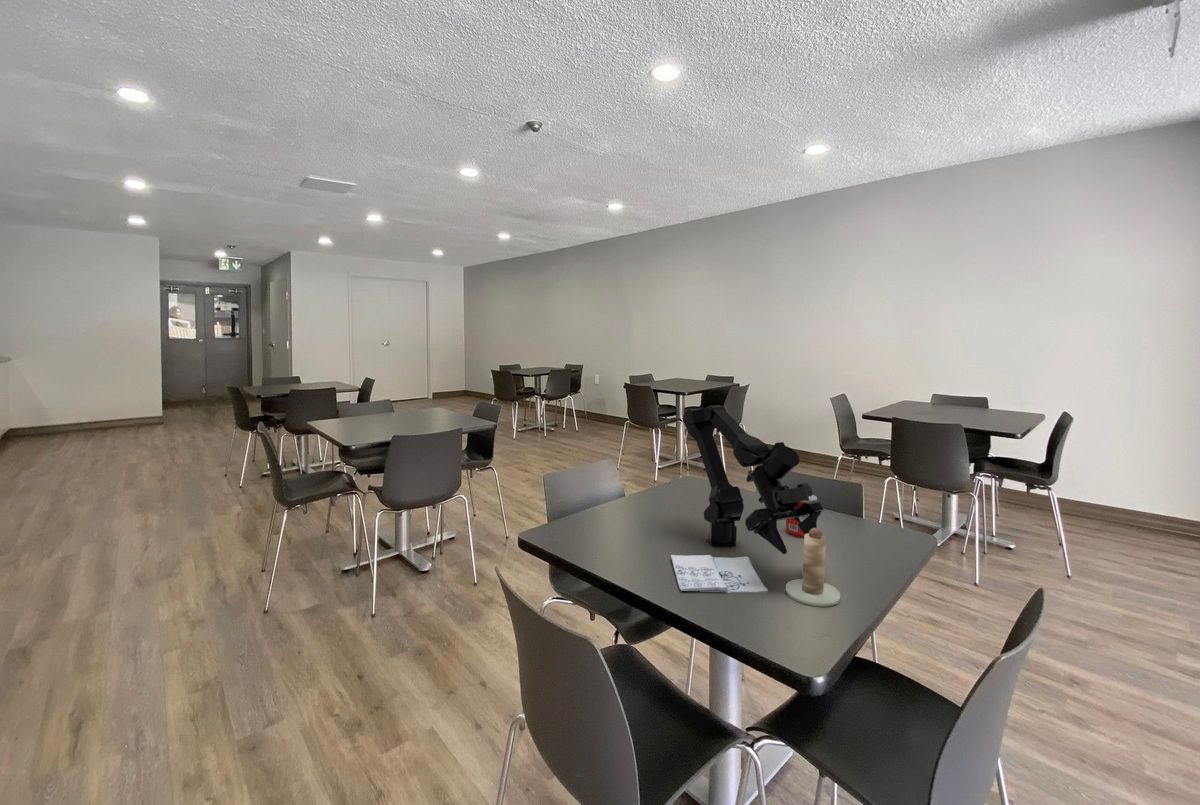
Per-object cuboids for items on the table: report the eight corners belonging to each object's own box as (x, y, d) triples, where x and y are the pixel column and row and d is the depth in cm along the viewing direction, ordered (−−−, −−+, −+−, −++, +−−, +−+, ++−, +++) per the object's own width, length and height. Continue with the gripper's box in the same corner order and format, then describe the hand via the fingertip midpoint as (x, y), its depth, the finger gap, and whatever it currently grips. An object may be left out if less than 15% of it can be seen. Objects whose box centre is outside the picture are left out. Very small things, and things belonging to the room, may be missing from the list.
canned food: (817, 539, 150) (819, 500, 149) (787, 537, 152) (789, 499, 151) (812, 529, 158) (814, 493, 157) (784, 527, 159) (785, 491, 158)
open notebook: (670, 560, 137) (670, 552, 137) (750, 561, 136) (750, 553, 136) (678, 595, 118) (678, 586, 118) (771, 597, 117) (772, 587, 117)
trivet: (795, 606, 112) (795, 601, 112) (779, 582, 123) (779, 578, 123) (848, 607, 112) (849, 602, 112) (828, 583, 123) (828, 579, 123)
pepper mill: (800, 592, 116) (803, 529, 115) (802, 584, 120) (805, 523, 119) (822, 596, 114) (826, 532, 113) (824, 587, 118) (827, 526, 117)
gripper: (755, 475, 119) (788, 540, 110) (820, 467, 126) (855, 528, 118) (732, 499, 127) (761, 562, 119) (794, 491, 134) (825, 549, 126)
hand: (801, 550), depth 120 cm, fingers open, 9 cm apart
